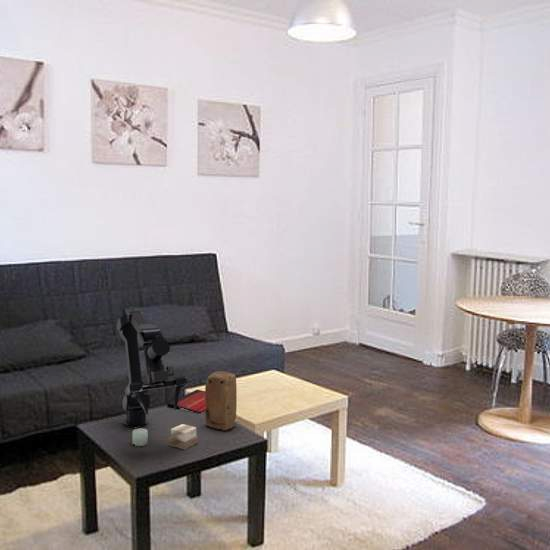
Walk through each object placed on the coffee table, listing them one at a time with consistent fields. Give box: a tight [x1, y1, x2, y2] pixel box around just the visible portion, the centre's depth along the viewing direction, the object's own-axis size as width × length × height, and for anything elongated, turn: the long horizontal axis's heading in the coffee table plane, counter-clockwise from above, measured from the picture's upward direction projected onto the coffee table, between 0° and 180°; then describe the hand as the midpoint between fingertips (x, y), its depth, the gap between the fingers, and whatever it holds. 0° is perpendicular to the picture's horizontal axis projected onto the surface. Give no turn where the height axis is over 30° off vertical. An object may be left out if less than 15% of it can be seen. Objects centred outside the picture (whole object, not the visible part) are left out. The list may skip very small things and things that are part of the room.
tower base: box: [167, 435, 199, 449], centre depth 214 cm, size 7×7×3 cm
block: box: [204, 370, 238, 431], centre depth 230 cm, size 11×8×20 cm
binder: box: [166, 389, 206, 414], centre depth 257 cm, size 16×2×21 cm
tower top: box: [170, 423, 197, 442], centre depth 214 cm, size 6×6×3 cm
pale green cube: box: [132, 427, 149, 445], centre depth 214 cm, size 5×5×4 cm
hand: (161, 412), depth 203 cm, fingers open, 9 cm apart
